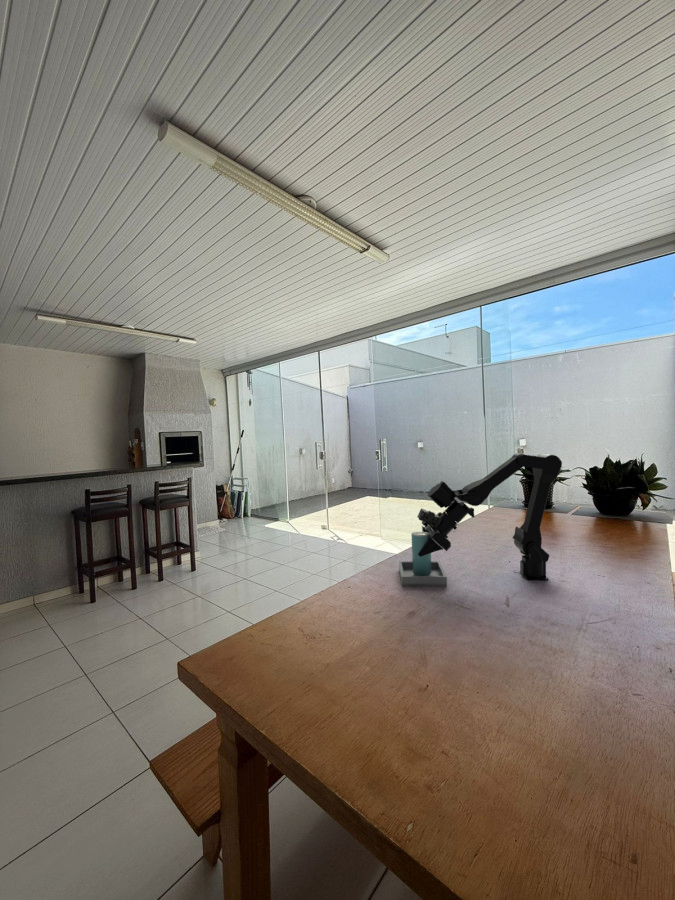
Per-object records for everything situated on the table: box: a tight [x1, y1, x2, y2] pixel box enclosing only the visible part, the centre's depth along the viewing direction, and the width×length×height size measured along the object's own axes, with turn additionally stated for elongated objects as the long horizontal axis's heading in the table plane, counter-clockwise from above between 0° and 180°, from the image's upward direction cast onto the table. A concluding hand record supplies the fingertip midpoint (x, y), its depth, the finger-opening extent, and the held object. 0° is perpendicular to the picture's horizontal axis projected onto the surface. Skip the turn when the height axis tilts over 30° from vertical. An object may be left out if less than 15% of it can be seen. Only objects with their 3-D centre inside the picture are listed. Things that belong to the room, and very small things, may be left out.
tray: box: [398, 560, 448, 587], centre depth 125 cm, size 14×14×3 cm
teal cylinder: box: [410, 531, 432, 576], centre depth 125 cm, size 6×6×13 cm
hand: (417, 552), depth 125 cm, fingers closed on teal cylinder, 6 cm apart
